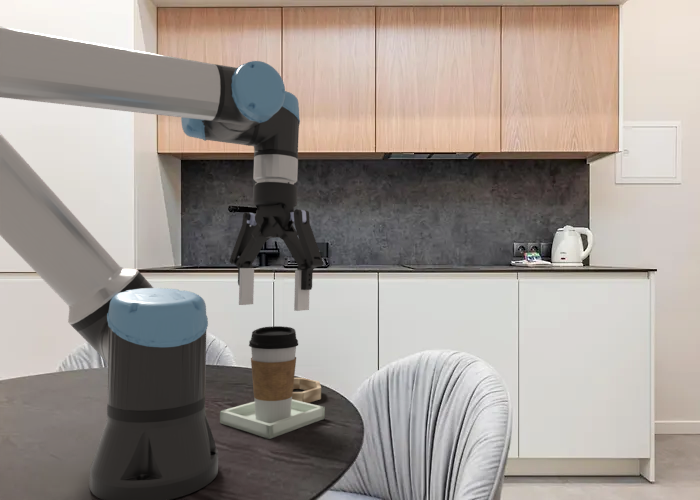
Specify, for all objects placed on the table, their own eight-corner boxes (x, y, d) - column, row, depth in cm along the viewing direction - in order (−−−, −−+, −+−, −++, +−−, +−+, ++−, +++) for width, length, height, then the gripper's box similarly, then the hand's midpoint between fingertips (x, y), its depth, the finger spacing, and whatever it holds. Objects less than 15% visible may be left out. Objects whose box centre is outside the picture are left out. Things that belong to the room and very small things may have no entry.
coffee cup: (302, 410, 92) (302, 326, 92) (292, 426, 83) (292, 333, 84) (255, 409, 93) (256, 325, 93) (241, 424, 84) (242, 332, 84)
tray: (269, 439, 79) (269, 425, 79) (219, 423, 86) (220, 411, 86) (324, 418, 89) (324, 407, 89) (276, 405, 97) (276, 395, 97)
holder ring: (289, 409, 95) (289, 397, 95) (243, 397, 103) (244, 386, 103) (332, 395, 105) (333, 384, 105) (288, 385, 113) (288, 375, 113)
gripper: (346, 180, 84) (343, 311, 83) (244, 191, 99) (241, 301, 99) (315, 174, 78) (312, 314, 77) (212, 186, 93) (209, 303, 93)
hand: (272, 307), depth 88 cm, fingers open, 13 cm apart
